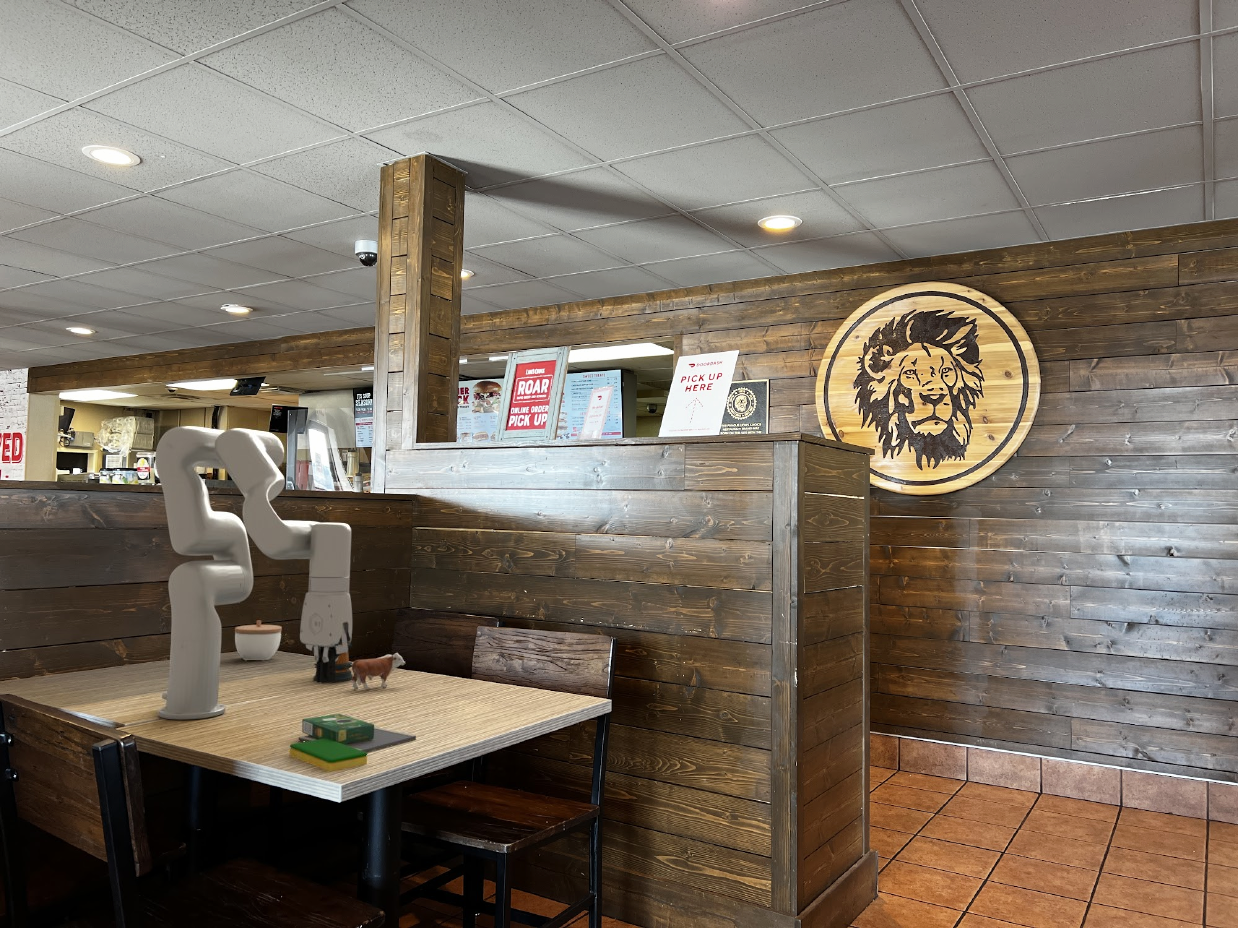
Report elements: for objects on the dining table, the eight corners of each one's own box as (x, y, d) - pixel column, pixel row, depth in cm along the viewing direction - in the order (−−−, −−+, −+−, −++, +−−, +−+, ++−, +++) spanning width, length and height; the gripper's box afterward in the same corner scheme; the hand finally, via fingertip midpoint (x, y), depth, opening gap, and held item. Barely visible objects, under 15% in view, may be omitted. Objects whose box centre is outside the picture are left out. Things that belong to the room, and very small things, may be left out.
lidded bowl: (288, 656, 262) (289, 618, 263) (267, 663, 249) (269, 623, 250) (247, 654, 263) (249, 617, 264) (224, 661, 251) (226, 622, 251)
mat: (298, 740, 164) (298, 736, 164) (357, 727, 176) (357, 723, 176) (358, 754, 155) (358, 750, 155) (415, 739, 167) (415, 735, 167)
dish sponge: (329, 774, 145) (330, 759, 145) (288, 758, 154) (289, 743, 154) (367, 766, 150) (368, 752, 150) (325, 750, 159) (326, 737, 160)
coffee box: (299, 733, 167) (336, 746, 158) (300, 718, 167) (336, 730, 158) (338, 727, 173) (375, 739, 164) (339, 712, 173) (376, 723, 164)
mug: (361, 679, 227) (363, 634, 228) (324, 684, 220) (326, 637, 220) (336, 673, 236) (337, 629, 237) (299, 677, 229) (301, 632, 229)
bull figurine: (406, 686, 220) (407, 653, 220) (353, 691, 212) (354, 657, 212) (399, 683, 223) (400, 651, 224) (346, 688, 215) (348, 654, 216)
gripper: (287, 585, 173) (283, 680, 171) (340, 589, 165) (336, 689, 164) (319, 583, 179) (315, 675, 178) (370, 587, 171) (367, 683, 170)
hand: (325, 681), depth 171 cm, fingers closed
